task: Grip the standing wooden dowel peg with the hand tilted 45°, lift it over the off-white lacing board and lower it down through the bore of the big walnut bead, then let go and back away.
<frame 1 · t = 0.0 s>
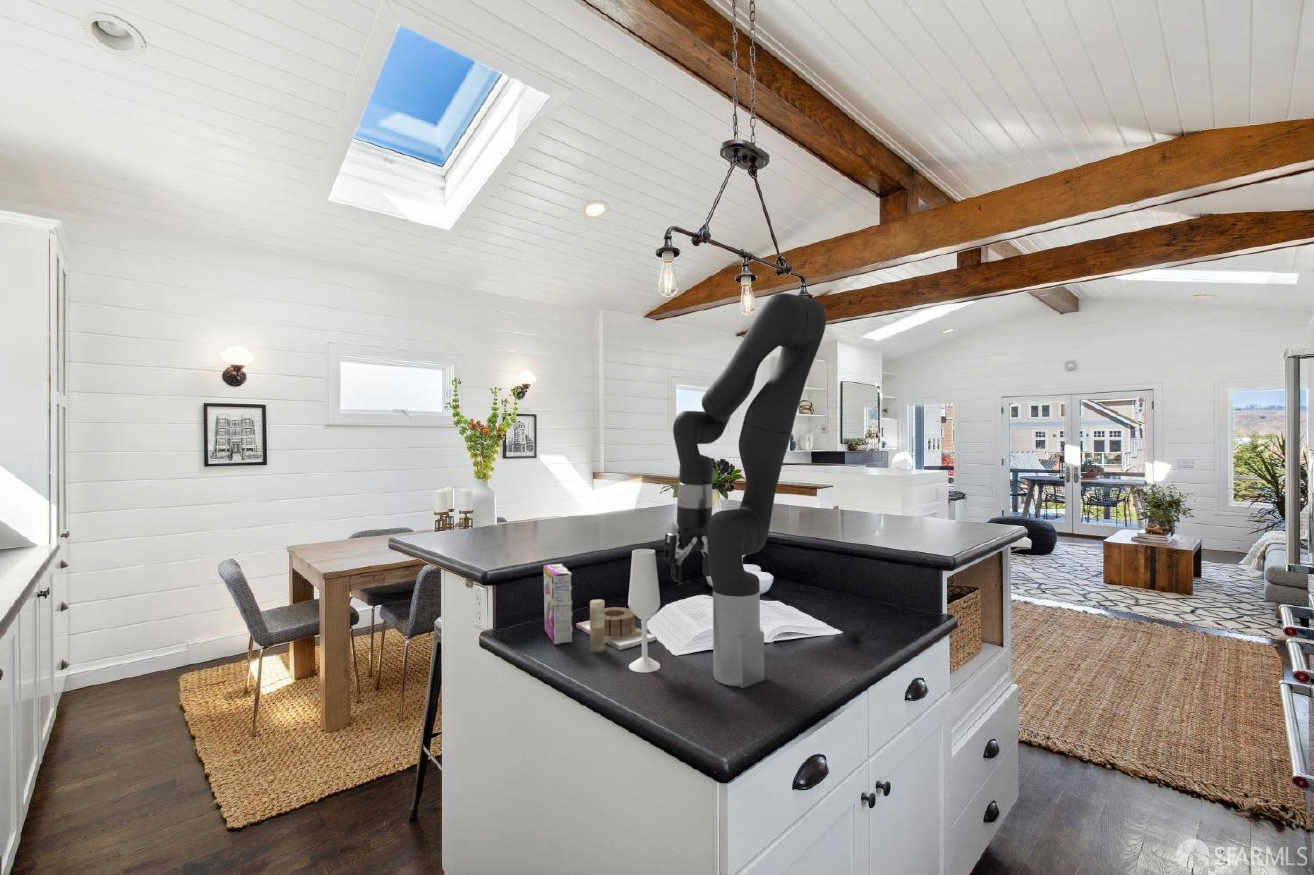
hand: (692, 578, 126), 17 cm above the countertop, tool pointing down, fingers open, 8 cm apart
wooden dowel peg: (597, 650, 131), on the countertop
champagne flute: (644, 667, 122), on the countertop
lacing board: (614, 633, 142), on the countertop
candy bar box: (558, 637, 140), on the countertop
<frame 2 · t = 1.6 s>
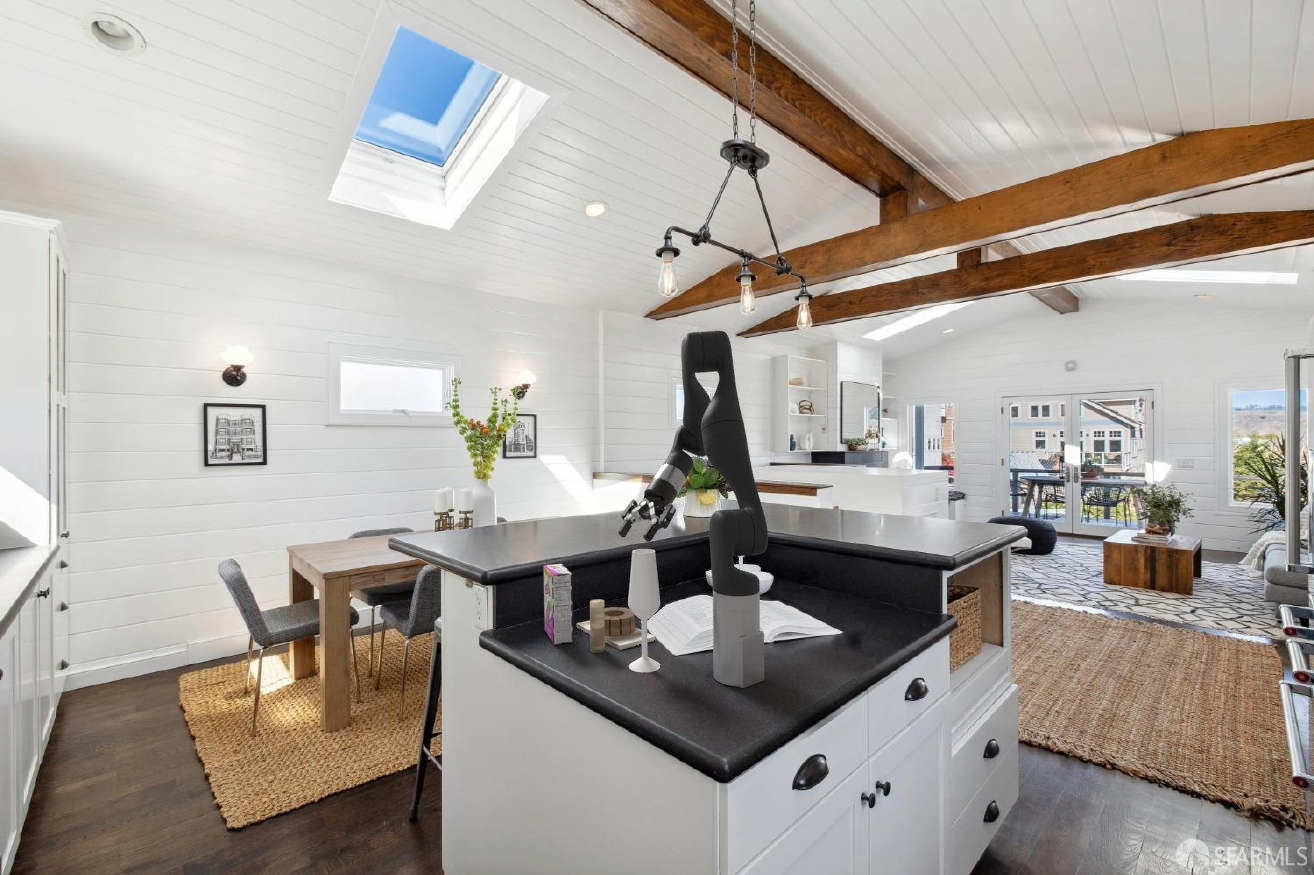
hand: (633, 537, 140), 24 cm above the countertop, tool tilted 45°, fingers open, 8 cm apart
nothing on the countertop moved.
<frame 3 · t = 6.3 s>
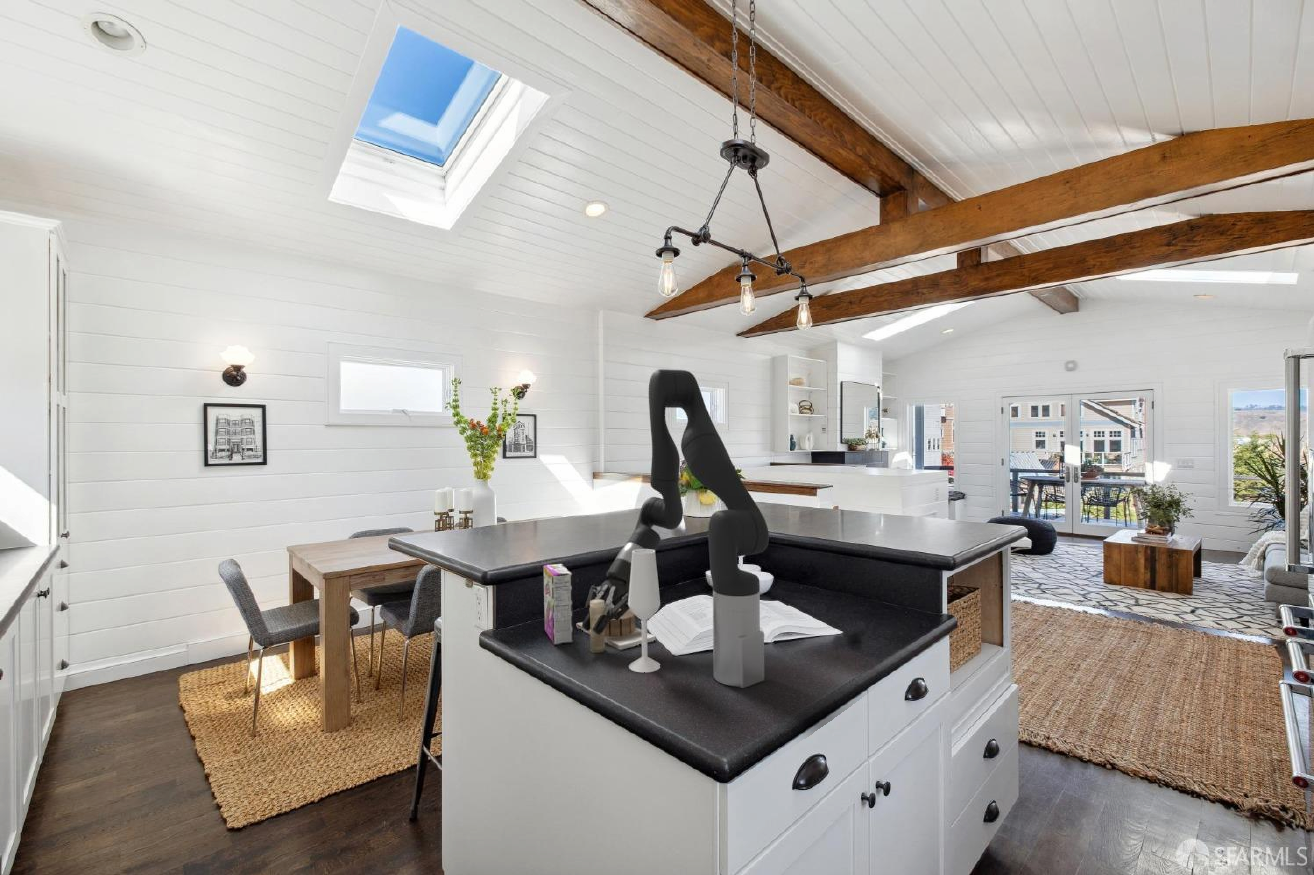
hand: (590, 630, 130), 5 cm above the countertop, tool tilted 45°, fingers closed on wooden dowel peg, 3 cm apart
wooden dowel peg: (597, 650, 131), on the countertop, touching gripper
everything else where it was.
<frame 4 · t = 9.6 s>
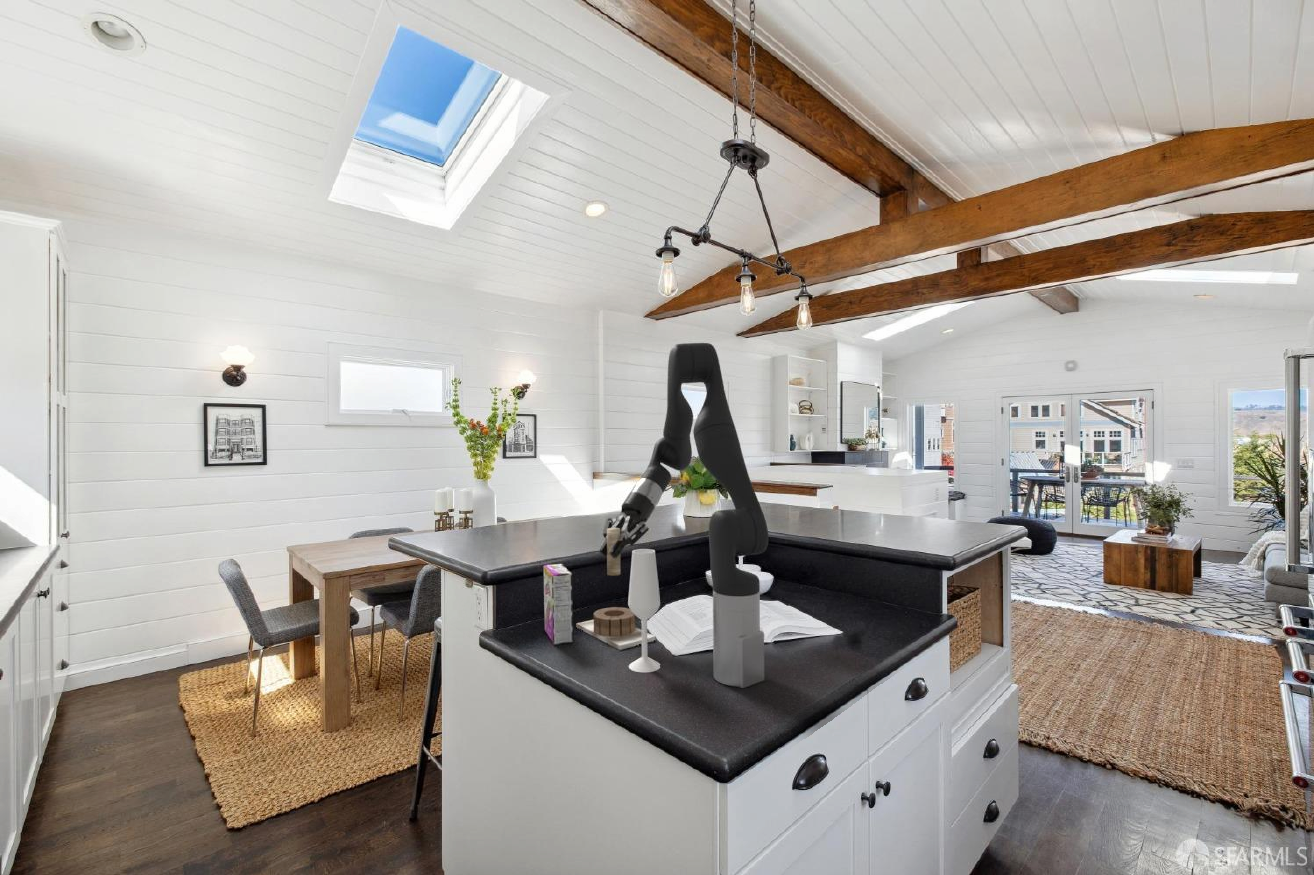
hand: (607, 554, 141), 20 cm above the countertop, tool tilted 45°, fingers closed on wooden dowel peg, 3 cm apart
wooden dowel peg: (613, 573, 142), point 15 cm above the countertop, touching gripper
everything else where it was.
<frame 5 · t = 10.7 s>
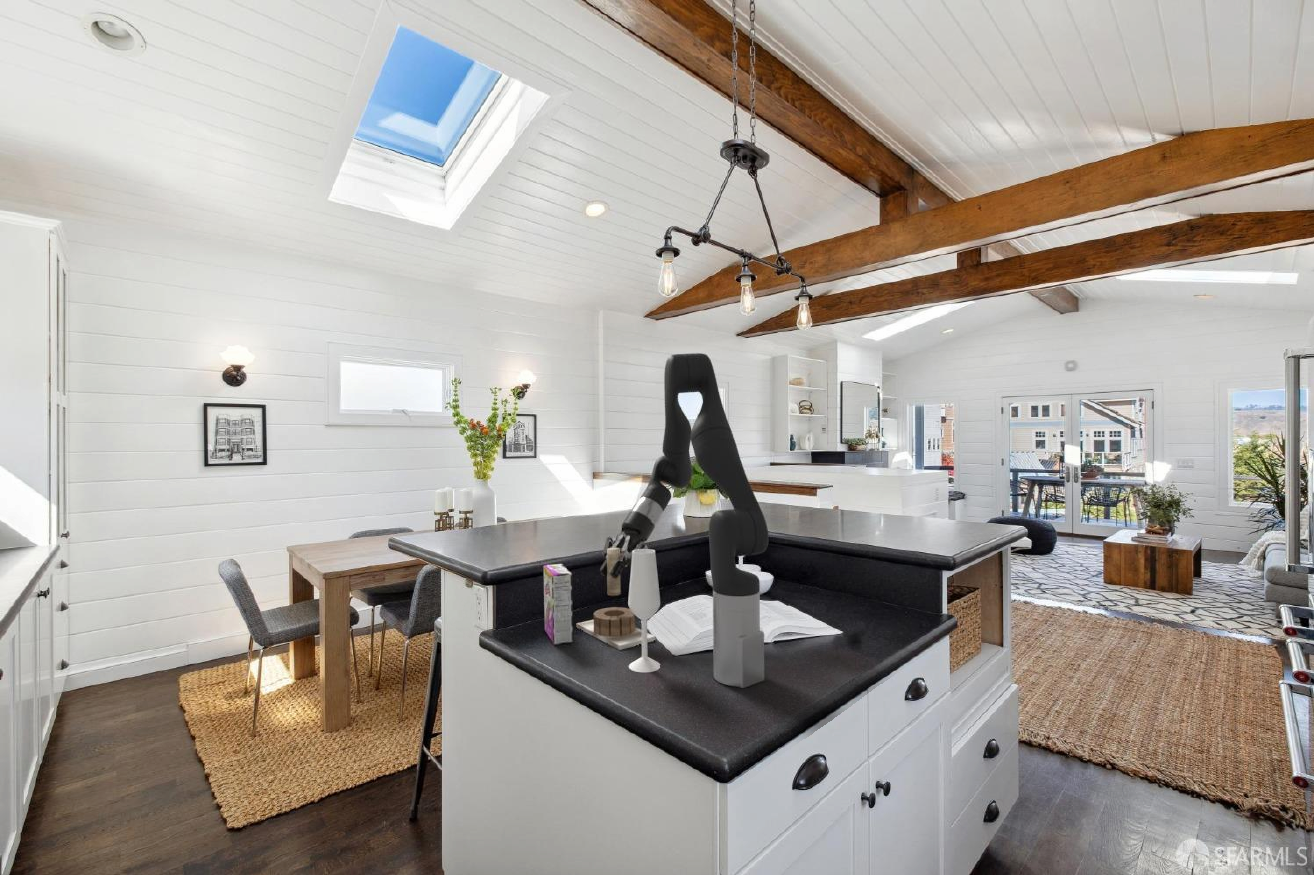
hand: (607, 575, 141), 15 cm above the countertop, tool tilted 45°, fingers closed on wooden dowel peg, 3 cm apart
wooden dowel peg: (613, 593, 142), point 10 cm above the countertop, touching gripper
everything else where it was.
when the fingers open (7 cm above the countertop, at t = 12.7 s): wooden dowel peg stays where it is, resting on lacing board.
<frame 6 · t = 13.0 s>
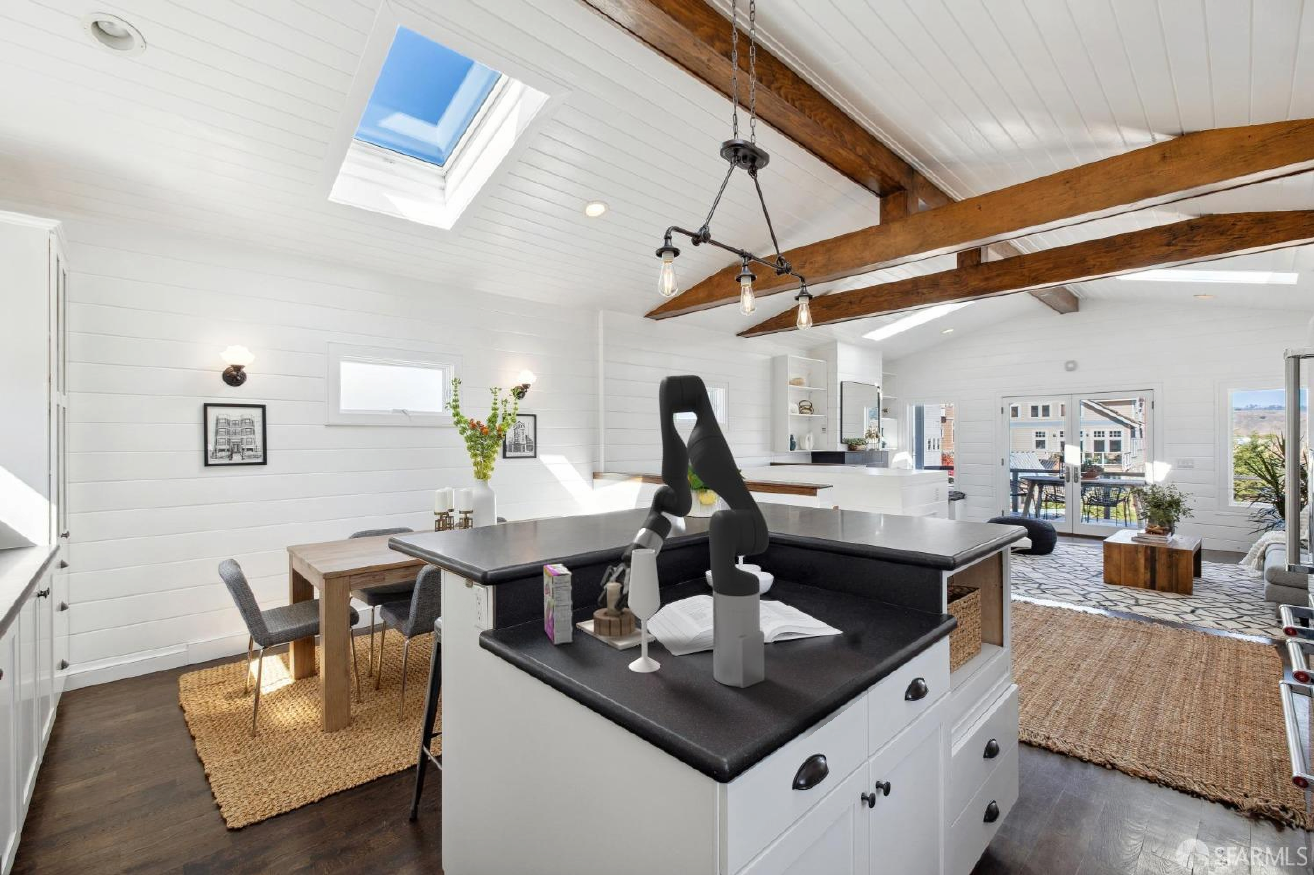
hand: (608, 606, 141), 7 cm above the countertop, tool tilted 45°, fingers open, 5 cm apart
wooden dowel peg: (614, 629, 142), point 1 cm above the countertop, touching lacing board
everything else where it was.
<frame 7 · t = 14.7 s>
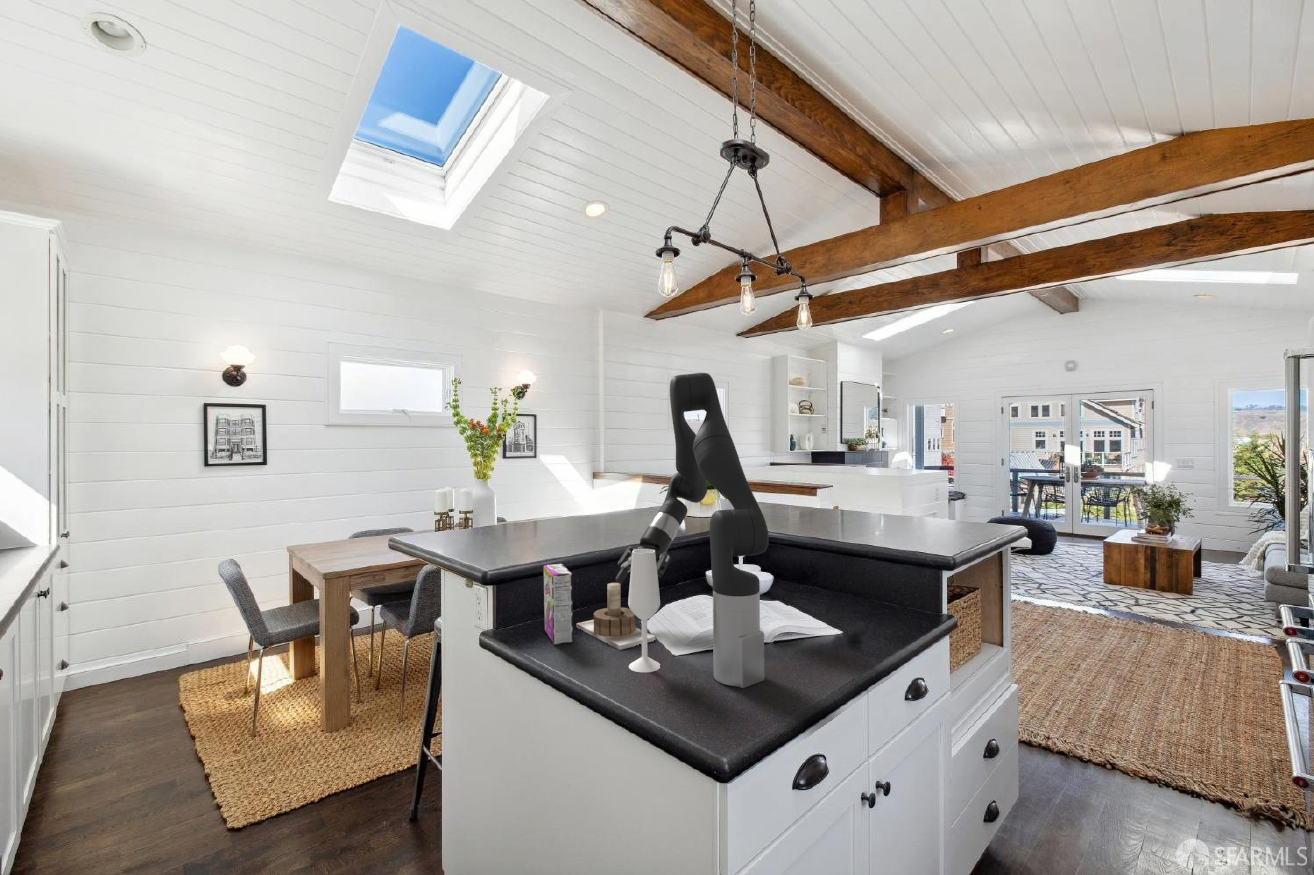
hand: (629, 585, 146), 11 cm above the countertop, tool tilted 45°, fingers open, 8 cm apart
nothing on the countertop moved.
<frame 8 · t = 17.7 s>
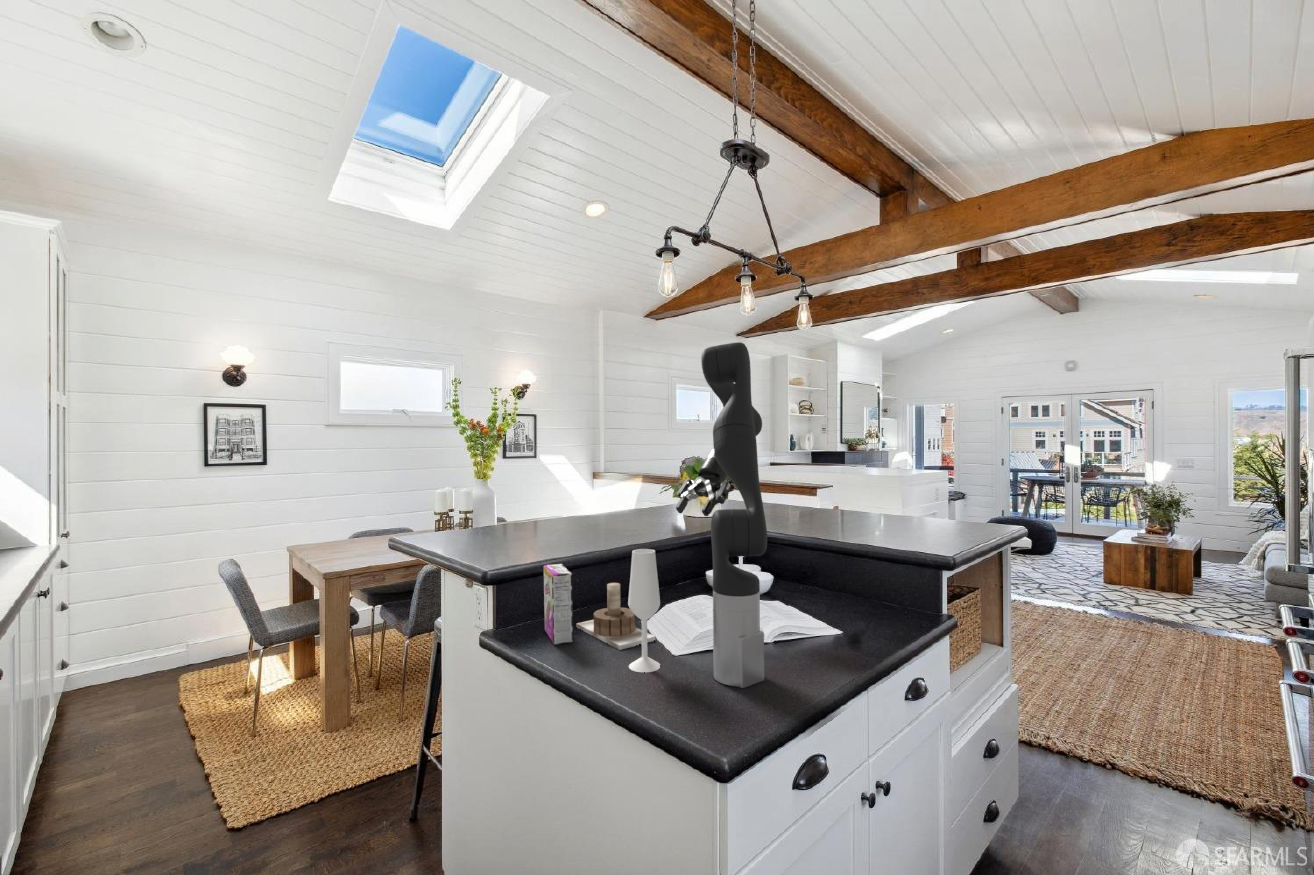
hand: (691, 512, 148), 29 cm above the countertop, tool tilted 45°, fingers open, 8 cm apart
nothing on the countertop moved.
at the end: wooden dowel peg 0.1 cm off-centre on the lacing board, point 1.0 cm above the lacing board's base; wooden dowel peg tilted 0°; the gripper is holding nothing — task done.
